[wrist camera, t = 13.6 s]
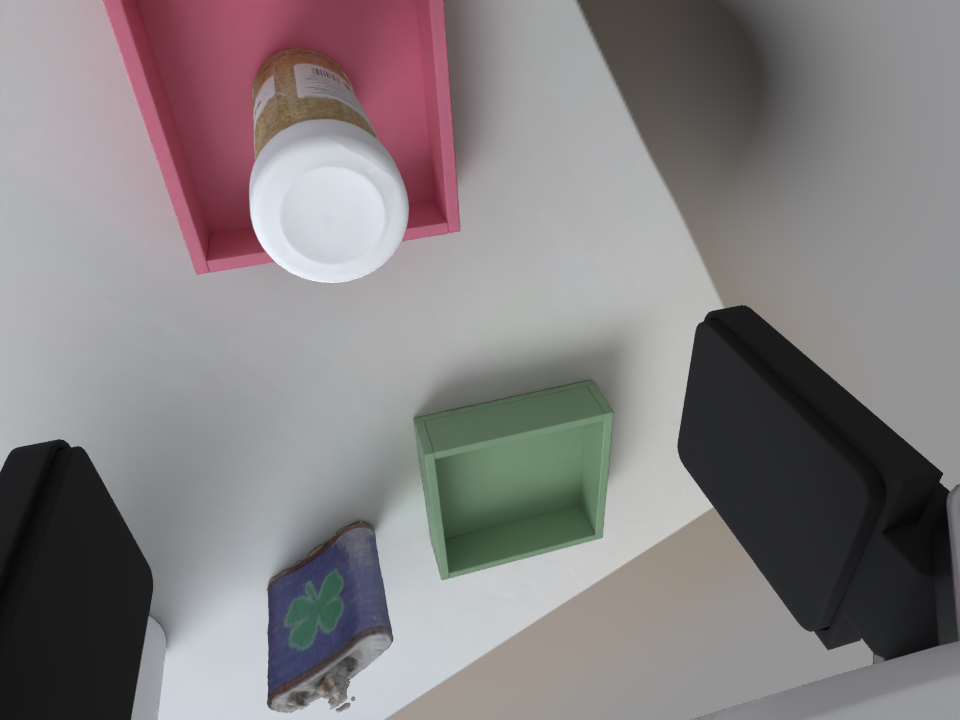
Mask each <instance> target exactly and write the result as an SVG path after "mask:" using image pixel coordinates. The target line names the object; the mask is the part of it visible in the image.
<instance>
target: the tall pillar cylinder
mask: <svg viewBox="0 0 960 720" xmlns="http://www.w3.org/2000/svg"><path fill="white" fill-rule="evenodd" d="M165 652H166V637H165V633H164V631H163V629H162V628H161V626H160V625H159V624H158V623H157V622H156V621H155V620H154V619H153V618H152V617H151V616H149V617H148V623H147V629H146V635H145V640H144V646H143V652H142V658H141V664H140V670H139V676H138V682H137V687H136V693H135V699H134V705H133V711H132V717H131V720H157V719H158V711H159V703H160V694H161V686H162V677H163V669H164V661H165Z"/></svg>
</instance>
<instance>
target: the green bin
mask: <svg viewBox="0 0 960 720" xmlns="http://www.w3.org/2000/svg"><path fill="white" fill-rule="evenodd" d="M613 414H614V412H613V410H612V409H611V407H610V406H609V404H608V403H607V401H606V400H605V399H604V397H603V396H602V394H601V393H600V391H599V390H598V388H597V387H596V385H595V384H594V382H593V381H592V380H589V381H585V382H580V383H575V384H571V385H566V386H561V387H557V388H552V389H548V390H543V391H538V392H534V393H529V394H524V395H520V396H515V397H510V398H506V399H501V400H497V401H492V402H487V403H483V404H478V405H473V406H469V407H464V408H459V409H455V410H450V411H446V412H441V413H436V414H432V415H427V416H422V417H418V418H414V426H415V433H416V440H417V447H418V454H419V461H420V468H421V475H422V481H423V488H424V495H425V502H426V509H427V516H428V523H429V530H430V537H431V543H432V547H433V551H434V554H435V558H436V562H437V566H438V569H439V573H440V577H441V580H445V579H449V577H450V578H453V577H456V576H460V575H464V574H468V573H471V572H475V571H479V570H483V569H487V568H490V567H494V566H498V565H502V564H505V563H509V562H513V561H517V560H521V559H524V558H528V557H532V556H536V555H539V554H543V553H547V552H551V551H555V550H558V549H562V548H566V547H570V546H573V545H577V544H581V543H585V542H589V541H592V540H595V539H600V538H602V537H603V526H604V514H605V503H606V492H607V481H608V470H609V459H610V447H611V436H612V425H613Z"/></svg>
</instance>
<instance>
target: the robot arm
mask: <svg viewBox="0 0 960 720" xmlns="http://www.w3.org/2000/svg"><path fill="white" fill-rule="evenodd" d="M678 453H679V457H680V459H681V461H682V463H683V465H684V466H685V468H686V469H687V471H688V472H689V473H690V475H691V476H692V477H693V479H694V480H695V482H696V483H697V484H698V486H699V487H700V488H701V490H702V491H703V493H704V494H705V495H706V497H707V498H708V499H709V501H710V502H711V504H712V505H713V506H714V508H715V509H716V510H717V512H718V513H719V515H720V516H721V517H722V519H723V520H724V521H725V523H726V524H727V526H728V527H729V528H730V530H731V531H732V532H733V534H734V535H735V536H736V538H737V539H738V541H739V542H740V543H741V545H742V546H743V547H744V549H745V550H746V552H747V553H748V554H749V556H750V557H751V558H752V560H753V561H754V563H755V564H756V566H757V567H758V568H759V570H760V571H761V572H762V574H763V575H764V576H765V578H766V579H767V581H768V582H769V583H770V585H771V586H772V587H773V589H774V590H775V592H776V593H777V594H778V595H779V597H780V598H781V600H782V601H783V603H784V604H785V605H786V607H787V608H788V610H789V611H790V612H791V614H792V615H793V616H794V618H795V619H796V621H797V622H798V623H799V624H800V625H801V626H802V627H803V628H804V629H806V630H807V631H814V632H815V633H816V635H817V636H818V637H819V638H820V640H821V641H822V643H823V644H824V645H825V647H826V648H827V649H828V650H830V649H834V648H837V647H840V646H843V645H847V644H850V643H853V642H856V641H860V640H861V638H862V639H863V640H864V642H865V643H866V644H867V645H868V647H869V648H870V649H871V650H872V651H873V665H870V666H866V667H863V668H860V669H856V670H852V671H849V672H845V673H842V674H838V675H835V676H832V677H829V678H826V679H822V680H819V681H815V682H812V683H809V684H806V685H802V686H799V687H796V688H793V689H789V690H786V691H783V692H779V693H776V694H773V695H770V696H767V697H763V698H760V699H757V700H753V701H750V702H747V703H744V704H741V705H737V706H734V707H730V708H727V709H724V710H721V711H717V712H715V713H711V714H708V715H704V716H701V717H698V718H694V719H691V720H960V484H959V485H956V486H955V487H954V488H953V489H952V490H951V492H950V491H949V490H948V489H947V488H945V487H944V486H943V485H942V484H941V483H940V482H939V481H940V479H941V477H942V475H943V473H942V472H941V471H940V470H939V469H938V468H936V467H935V466H934V465H933V464H932V463H930V462H929V461H928V460H927V459H926V458H924V456H922V455H921V454H920V453H919V452H918V451H916V450H915V449H914V448H913V447H912V446H911V445H909V444H908V443H907V442H906V441H905V440H904V439H903V438H901V437H900V436H899V435H898V434H897V433H895V432H894V431H893V430H892V429H891V428H890V427H888V426H887V425H886V424H885V423H884V422H883V421H882V420H880V419H879V418H878V417H877V416H876V415H874V414H873V413H872V412H871V411H870V410H869V409H868V408H866V407H865V406H864V405H863V404H862V403H860V402H859V401H858V400H857V399H856V398H855V397H854V396H852V395H851V394H850V393H849V392H848V391H846V390H845V389H844V388H843V387H842V386H841V385H840V384H838V383H837V382H836V381H835V380H834V379H832V378H831V377H830V376H829V375H828V374H827V373H825V372H824V371H823V370H822V369H821V368H820V367H818V366H817V365H816V364H815V363H814V362H813V361H811V360H810V359H809V358H808V357H807V356H806V355H804V354H803V353H802V352H801V351H800V350H799V349H797V348H796V347H795V346H794V345H793V344H792V343H790V342H789V341H788V340H787V339H786V338H784V337H783V336H782V335H781V334H780V333H779V332H778V331H776V330H775V329H774V328H773V327H772V326H770V325H769V324H768V323H767V322H766V321H765V320H764V319H762V318H761V317H760V316H759V315H758V314H757V313H755V312H754V311H753V310H752V309H751V308H749V307H747V306H743V305H741V306H736V307H730V308H725V309H720V310H715V311H711V312H709V313H708V314H707V315H706V317H705V320H704V322H701V323H699V324H698V326H697V328H696V332H695V338H694V344H693V351H692V357H691V363H690V369H689V376H688V382H687V388H686V394H685V400H684V407H683V413H682V419H681V425H680V431H679V438H678ZM152 594H153V578H152V573H151V569H150V567H149V564H148V563H147V561H146V559H145V557H144V555H143V554H142V552H141V550H140V548H139V546H138V545H137V543H136V541H135V539H134V537H133V536H132V534H131V532H130V530H129V528H128V527H127V525H126V523H125V521H124V519H123V518H122V516H121V514H120V512H119V510H118V509H117V507H116V505H115V503H114V501H113V500H112V498H111V496H110V494H109V492H108V490H107V489H106V487H105V485H104V483H103V481H102V480H101V478H100V476H99V474H98V472H97V471H96V469H95V467H94V465H93V463H92V462H91V460H90V458H89V456H88V454H87V453H86V451H85V450H84V449H83V448H82V447H78V446H77V447H72V448H71V447H70V445H69V444H68V443H67V442H66V441H64V440H60V439H58V440H53V441H48V442H43V443H38V444H33V445H28V446H23V447H18V448H15V449H13V450H12V451H11V452H10V454H9V455H8V457H7V459H6V461H5V463H4V466H3V468H2V470H1V472H0V720H131V717H132V711H133V705H134V699H135V693H136V687H137V682H138V676H139V670H140V664H141V658H142V652H143V646H144V640H145V635H146V629H147V623H148V617H149V611H150V605H151V599H152Z"/></svg>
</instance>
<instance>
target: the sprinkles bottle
mask: <svg viewBox="0 0 960 720" xmlns="http://www.w3.org/2000/svg"><path fill="white" fill-rule="evenodd" d="M251 98H252V107H253V112H254V113H253V121H254V149H255V158H256V161H255V163H254V166H253V169H252V173H251V177H250V184H249V200H250V215H251V220H252V225H253V228H254V231H255V233H256V236H257V238H258V240H259V242H260V244H261V245H262V247H263V248H264V250H265V251H266V252H267V253H268V255H269V256H270V257H271V258H272V259H273V260H274V261H275V262H276V263H278V264H279V265H280V266H281V267H283V268H284V269H286V270H287V271H289V272H291V273H293V274H295V275H297V276H299V277H301V278H304V279H308V280H311V281H317V282H325V283H339V282H346V281H351V280H355V279H358V278H361V277H363V276H366V275H368V274H369V273H371V272H373V271H375V270H376V269H378V268H379V267H380V266H382V265H383V264H384V263H385V262H386V261H387V260H388V259H389V258H390V257H391V256H392V255H393V254H394V252H395V251H396V249H397V248H398V246H399V245H400V243H401V241H402V239H403V237H404V234H405V231H406V228H407V223H408V216H409V203H408V196H407V192H406V188H405V185H404V182H403V180H402V177H401V174H400V172H399V170H398V168H397V166H396V164H395V162H394V160H393V159H392V157H391V155H390V154H389V152H388V151H387V149H386V148H385V147H384V146H383V145H382V144H381V143H380V142H379V140H378V137H377V135H376V132H375V130H374V128H373V127H372V125H371V123H370V121H369V119H368V117H367V115H366V113H365V111H364V109H363V108H362V106H361V104H360V102H359V100H358V98H357V96H356V94H355V91H354V88H353V86H352V83H351V81H350V79H349V77H348V76H347V75H346V74H345V72H344V70H343V69H342V68H341V67H340V66H339V65H338V64H337V63H336V62H335V61H334V60H333V59H331V58H330V57H329V56H326V55H324V54H322V53H320V52H318V51H315V50H311V49H301V48H294V49H289V50H284V51H280V52H278V53H276V54H274V55H273V56H272V57H270V58H269V59H268V60H267V61H266V62H265V63H264V64H263V65H262V67H261V69H260V70H259V71H258V73H257V75H256V77H255V79H254V82H253V86H252V97H251Z"/></svg>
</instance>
